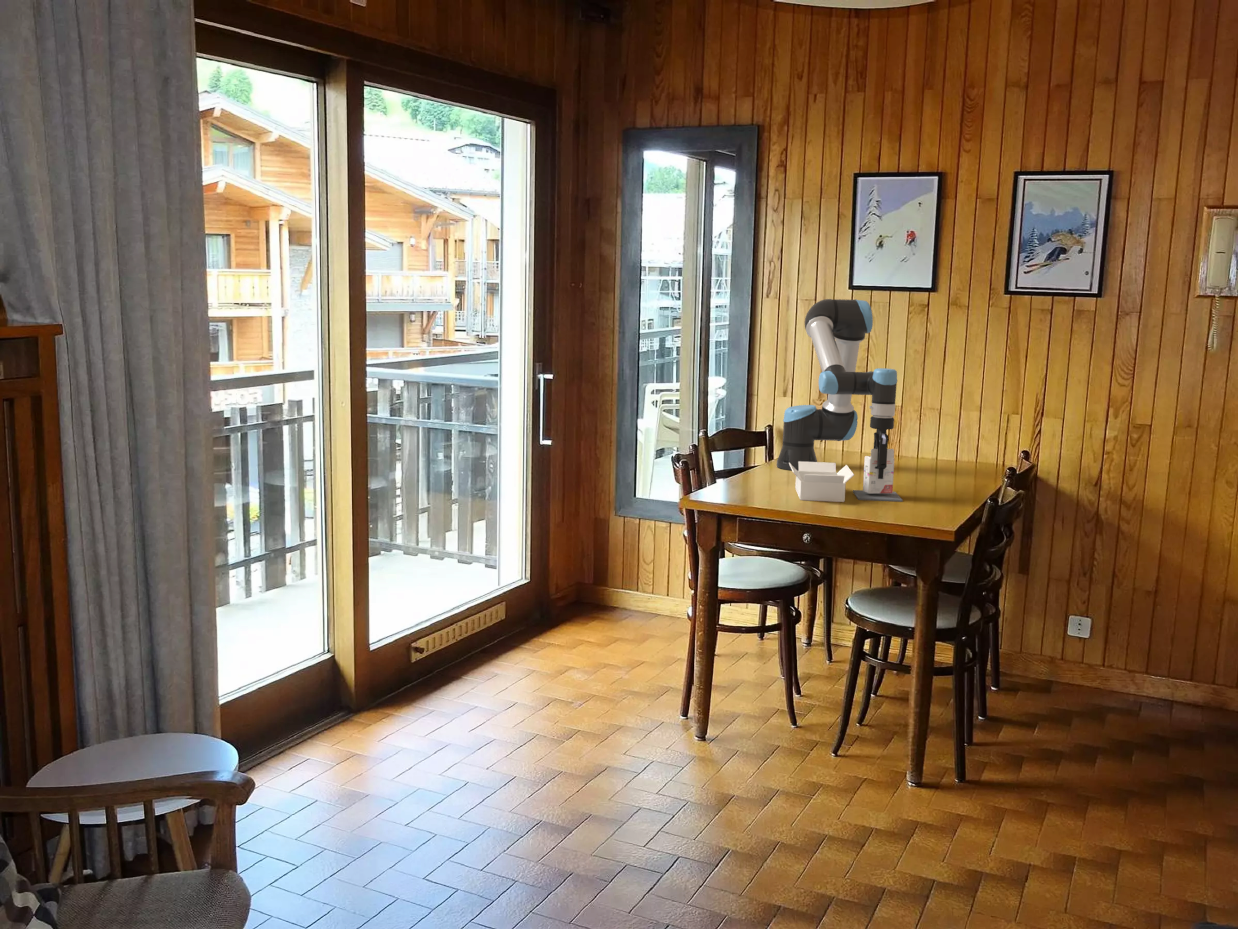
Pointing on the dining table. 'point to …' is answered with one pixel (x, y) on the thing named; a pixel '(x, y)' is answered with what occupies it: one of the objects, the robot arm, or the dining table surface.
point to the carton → (821, 481)
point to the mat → (877, 496)
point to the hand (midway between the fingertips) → (877, 486)
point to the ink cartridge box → (871, 472)
